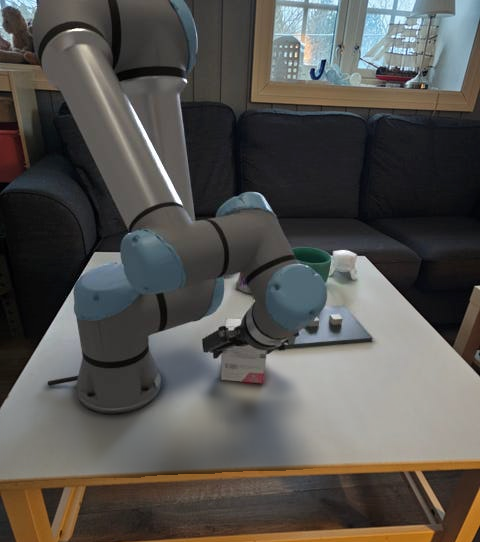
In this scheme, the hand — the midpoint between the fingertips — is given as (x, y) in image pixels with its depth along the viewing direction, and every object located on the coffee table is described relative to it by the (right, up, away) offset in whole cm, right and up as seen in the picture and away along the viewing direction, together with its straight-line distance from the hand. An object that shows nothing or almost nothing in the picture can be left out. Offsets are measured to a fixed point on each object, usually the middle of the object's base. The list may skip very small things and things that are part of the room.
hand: (240, 349), depth 88 cm
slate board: (+17, +4, +18) cm, 25 cm away
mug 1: (+3, +16, +36) cm, 39 cm away
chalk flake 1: (+17, +5, +17) cm, 25 cm away
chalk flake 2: (+23, +5, +18) cm, 30 cm away
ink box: (0, -5, 0) cm, 5 cm away
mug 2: (+17, +16, +39) cm, 45 cm away
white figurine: (+31, +20, +46) cm, 60 cm away
